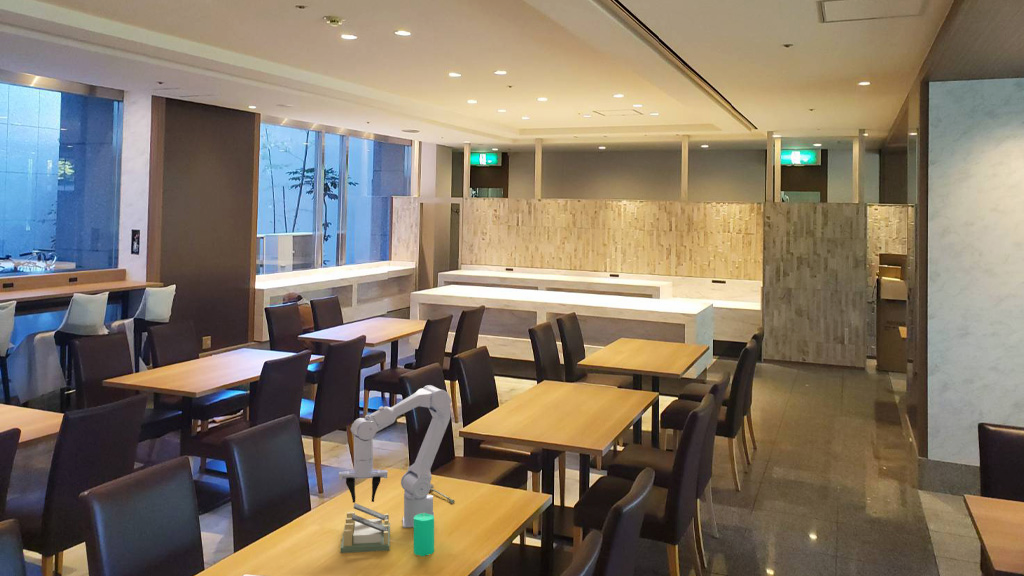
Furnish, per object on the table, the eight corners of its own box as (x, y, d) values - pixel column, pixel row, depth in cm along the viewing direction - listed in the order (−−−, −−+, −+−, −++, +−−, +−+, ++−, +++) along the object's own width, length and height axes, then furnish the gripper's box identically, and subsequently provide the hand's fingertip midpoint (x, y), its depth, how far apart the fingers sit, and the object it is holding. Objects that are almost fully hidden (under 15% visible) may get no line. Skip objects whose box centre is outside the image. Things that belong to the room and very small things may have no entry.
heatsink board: (390, 527, 238) (390, 509, 237) (389, 550, 221) (389, 530, 220) (344, 529, 236) (344, 511, 235) (340, 552, 219) (340, 532, 218)
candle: (425, 557, 216) (425, 517, 215) (409, 552, 219) (409, 512, 219) (438, 550, 221) (438, 510, 220) (422, 545, 225) (422, 506, 224)
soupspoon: (426, 487, 279) (411, 491, 275) (426, 478, 278) (410, 482, 274) (460, 502, 261) (444, 507, 257) (459, 492, 261) (443, 497, 257)
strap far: (387, 518, 235) (388, 516, 235) (387, 522, 232) (388, 520, 232) (353, 505, 233) (355, 502, 233) (353, 508, 230) (354, 506, 230)
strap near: (387, 530, 226) (388, 527, 226) (387, 534, 223) (388, 531, 223) (352, 516, 224) (353, 513, 224) (351, 519, 221) (352, 517, 221)
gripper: (387, 453, 236) (387, 495, 237) (340, 454, 234) (340, 497, 235) (387, 460, 229) (387, 503, 230) (338, 461, 227) (338, 505, 228)
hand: (363, 501), depth 232 cm, fingers open, 5 cm apart
